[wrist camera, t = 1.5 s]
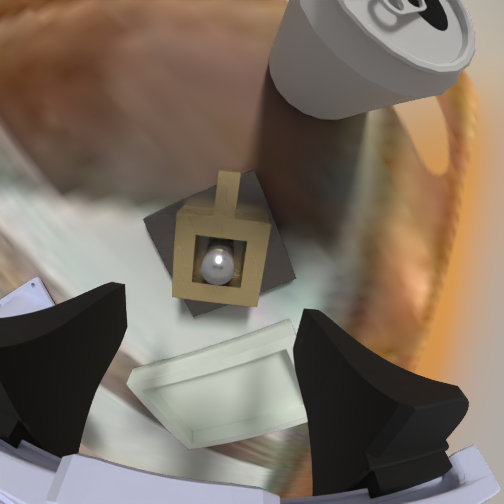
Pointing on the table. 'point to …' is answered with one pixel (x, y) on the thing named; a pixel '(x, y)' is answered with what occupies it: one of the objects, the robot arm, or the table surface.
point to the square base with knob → (222, 241)
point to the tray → (225, 389)
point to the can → (368, 53)
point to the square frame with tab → (221, 226)
